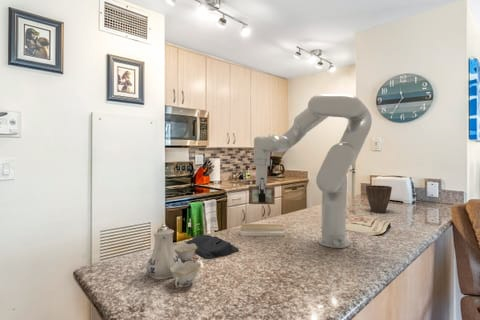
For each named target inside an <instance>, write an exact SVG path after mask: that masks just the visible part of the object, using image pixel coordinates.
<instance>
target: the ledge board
mask: <svg viewBox="0 0 480 320" xmlns="http://www.w3.org/2000/svg"><path fill="white" fill-rule="evenodd" d="M240 226H241V227H240V237H245V236H247V237H249V236H250V237H253V236H254V237H285V235H286V234H285V227H283V223H241V224H240Z"/></svg>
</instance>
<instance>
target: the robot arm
mask: <svg viewBox="0 0 480 320" xmlns="http://www.w3.org/2000/svg"><path fill="white" fill-rule="evenodd" d="M329 117H331V118H332V117H334V118H343V119H346V120H347V121H348V125H347V126H346V128H345V130H344V131H343V134H342V136H341V138H340V141H339V142H338V143H336V144H334V145H333V146H331V147H330V148H329V150H328V151H327V154H326V156H325V157H324V160H323V161H322V164H321V166H320V168H319V170H318V171H317V175H316V177H315V179H316V180H315V181H316V185H317V188H318V189H319V191H321V192H322V193H321V236H320V237H318V238H317V244H319V245H321V246H323V247H326V248H333V249H345V248H348V247H349V246H350V243H351V242H350V240H348V239H347V237H346V236H347V235H346V234H347V233H346V232H347V231H346V215H347V189H348V176H347V173H348V171H349V170H350V167H351V166H352V165H354V164H355V163H356V161H357V159H358V157H359V154H360V152H361V150H362V147H363V145H364V144H365V141H366V139H367V137H368V135H369V133H370V131H371V127H372V122H373V121H372V114H371V112H370V110H369V109H368V107H367V106H366V105H365V104H364V103H363V101H362V100H360V99H359V98H358V97H357V96H355V95H352V94H328V93H327V94H326V93H324V94H323V93H320V94H319V93H318V94H316V95H313V96H312V97H311V98H309V100H308V102H307V107H306V108H305V109H304V110H303V111H301V112H300V113H299V114H298V115H296V116H295V117H294V119H293V123H292V126H291V127H290V128H289V129H288V130H287V131H285V133H283V134H282V135H270V136H269V135H268V136H255V137H254V139H253V166H254V167H255V186H256V187H257V186H259V194H258V202H265V187H266V186H268V185H267V184H268V183H267V182H268V167H270V166H271V165H270V164H271V162H270V161H271V155H270V154H271V153H284V152H287V151H288V150H290V149H291V148H292V147H294V146H295V145H296V144H298V143H299V142H300V141H301V140H303V138H304V137H305V136H306V135H307V133H308V132H310V131H312V129H314V128H315V127H317V126H318V125H319V124H321V123H322V122H323V121H325V120H327V118H329ZM260 186H261V187H260ZM260 188H261V189H260Z"/></svg>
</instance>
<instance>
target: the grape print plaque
mask: <svg viewBox="0 0 480 320" xmlns="http://www.w3.org/2000/svg"><path fill="white" fill-rule="evenodd" d="M391 224H392V223H391V222H389V221H386V220H383V219H381V218H377V217H373V216H372V217H371V216H367V215H356V214H346V232H350V233H356V234H363V235H367V234H368V235H367V236H378V235H380V234H381V235H382V234H383V233H384V232H386V231H387V228H388V227H389V226H390V225H391Z"/></svg>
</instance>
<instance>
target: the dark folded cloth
mask: <svg viewBox="0 0 480 320" xmlns="http://www.w3.org/2000/svg"><path fill="white" fill-rule="evenodd" d="M185 243H187V244H192V243H193V244H196V246H197V249H196V250H195V254H194V255H197V256H199V257H200V258H202V259H204V260H213V259H218V258H223V257H228V256H230V255H233V254H235V253H236V252H238V251H239V250H240V249H239V248H238V247H236V246H234V244H231V242H228V241H226V240H224V239H222V238H220V237H219V236H216V235H215V236H212V235H209V234H199V235H197V236H194V237H193V238H192V239H189V240H187V241H186V242H185Z"/></svg>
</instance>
